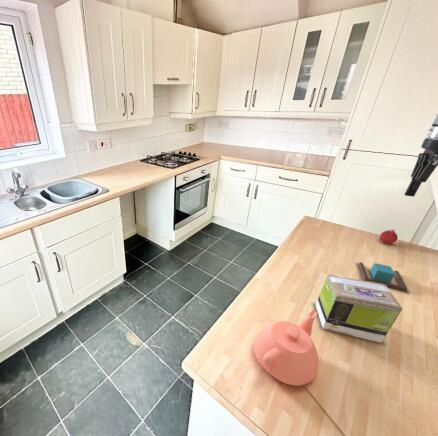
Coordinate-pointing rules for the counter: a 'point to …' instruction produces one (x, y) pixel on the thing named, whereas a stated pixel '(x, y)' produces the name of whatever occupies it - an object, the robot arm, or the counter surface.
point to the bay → (397, 275)
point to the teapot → (288, 351)
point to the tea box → (357, 308)
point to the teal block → (382, 273)
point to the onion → (388, 236)
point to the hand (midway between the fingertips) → (409, 195)
